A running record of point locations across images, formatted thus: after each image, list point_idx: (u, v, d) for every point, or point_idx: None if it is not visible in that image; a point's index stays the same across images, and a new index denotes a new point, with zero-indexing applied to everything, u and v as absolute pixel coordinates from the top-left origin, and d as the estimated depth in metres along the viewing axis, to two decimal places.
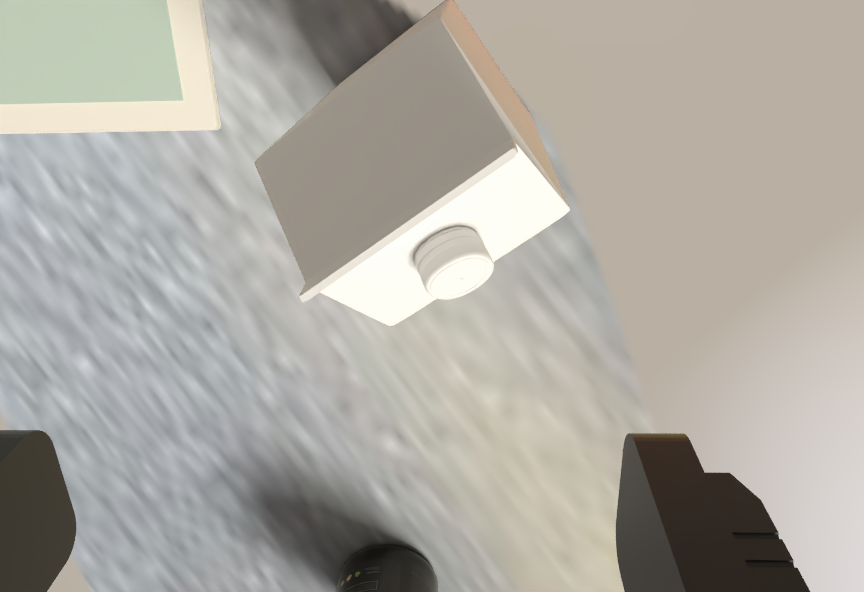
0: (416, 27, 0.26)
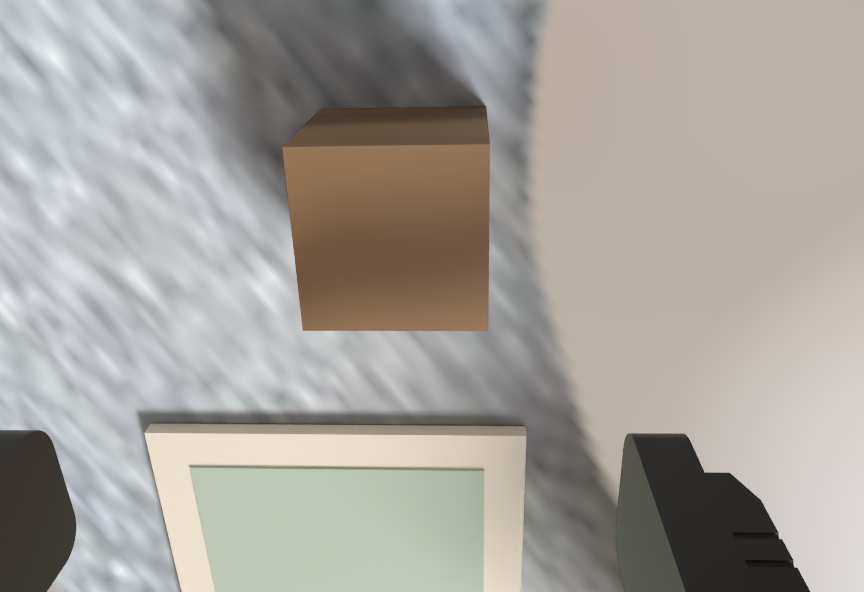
0: None
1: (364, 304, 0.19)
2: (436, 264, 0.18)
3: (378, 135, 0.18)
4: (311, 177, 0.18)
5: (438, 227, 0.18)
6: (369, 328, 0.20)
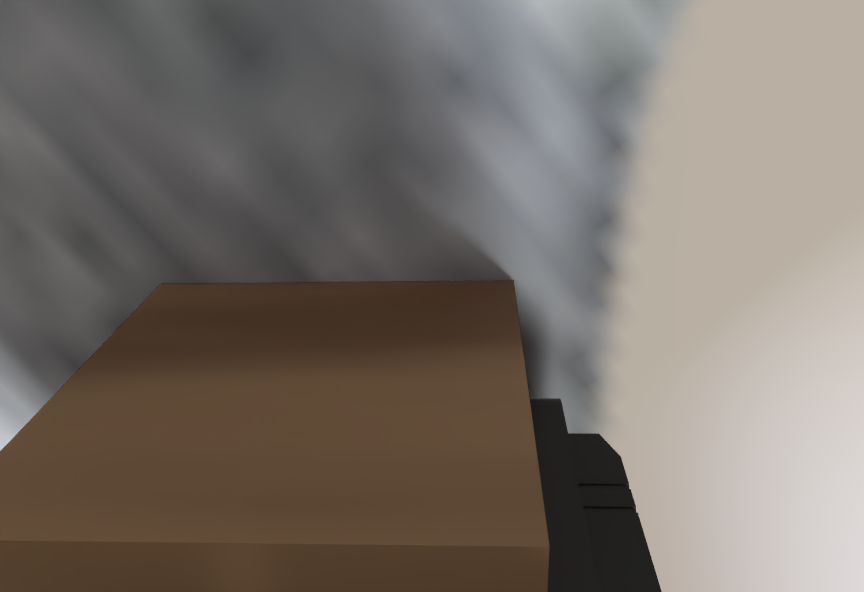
0: None
1: None
2: None
3: (231, 452, 0.07)
4: None
5: None
6: None
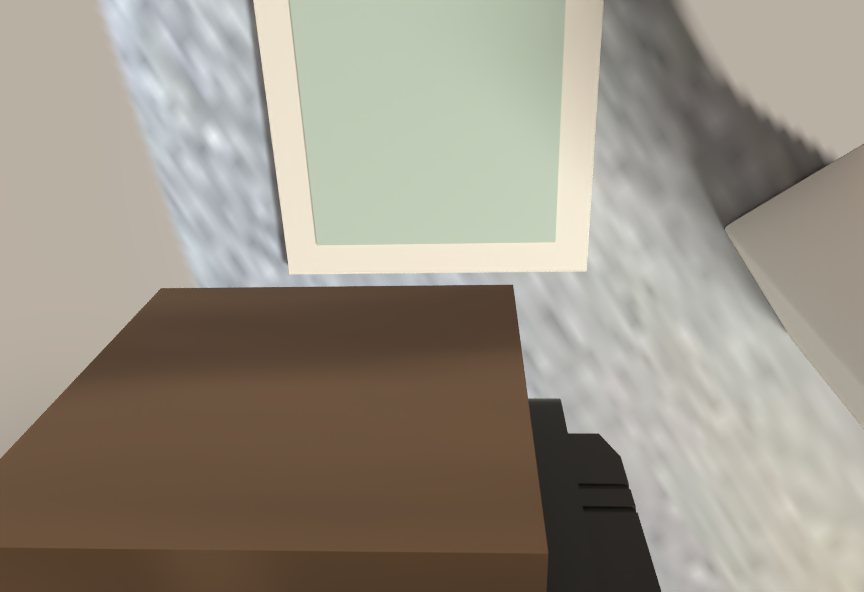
0: None
1: None
2: None
3: (231, 458, 0.07)
4: None
5: None
6: None
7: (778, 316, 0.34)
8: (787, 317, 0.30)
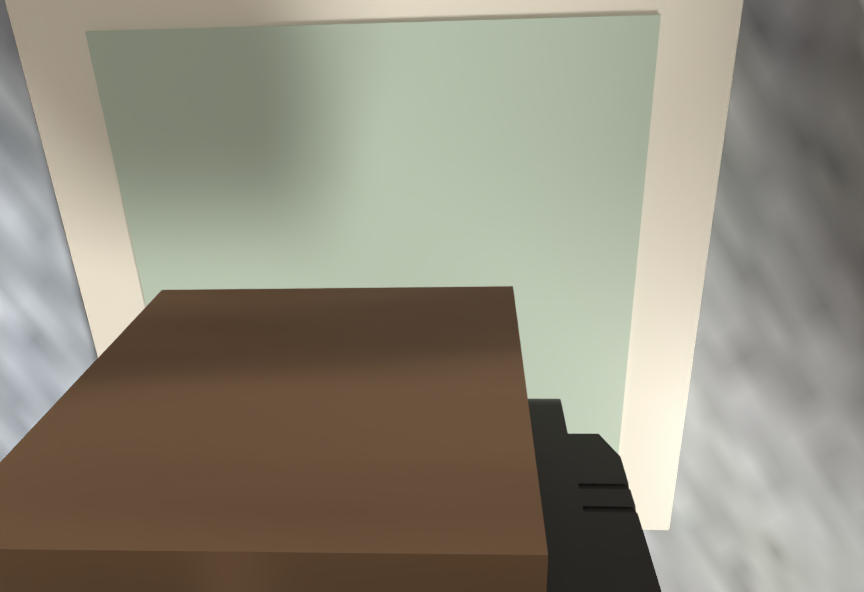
0: None
1: None
2: None
3: (232, 460, 0.07)
4: None
5: None
6: None
7: None
8: None
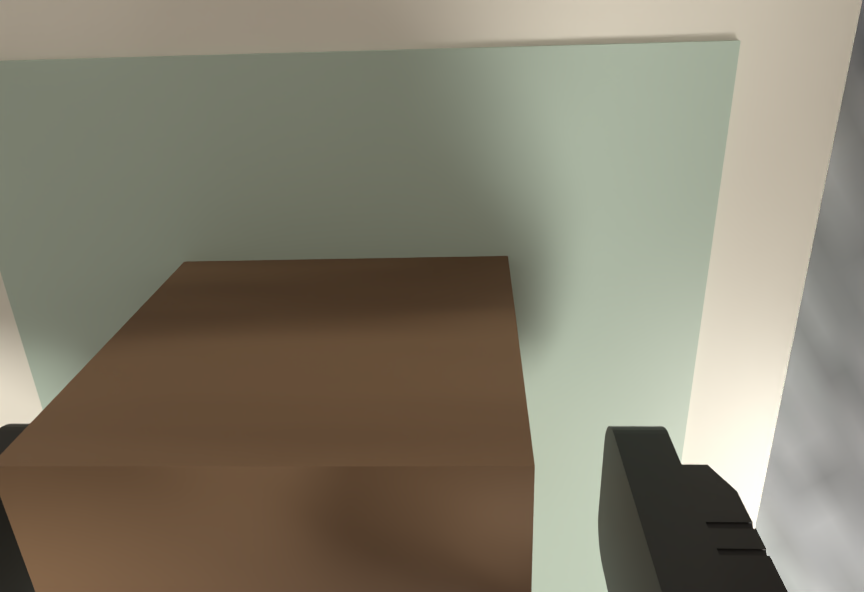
0: None
1: None
2: None
3: (257, 397, 0.08)
4: (77, 530, 0.07)
5: None
6: None
7: None
8: None
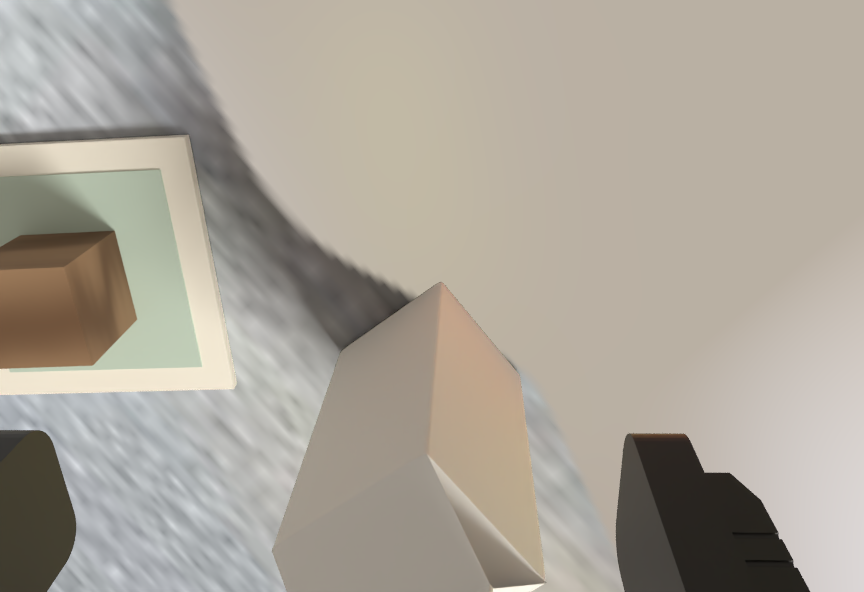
0: (409, 380, 0.30)
1: (21, 353, 0.34)
2: (54, 330, 0.33)
3: (18, 260, 0.33)
4: None
5: (49, 310, 0.33)
6: (28, 366, 0.34)
7: None
8: None
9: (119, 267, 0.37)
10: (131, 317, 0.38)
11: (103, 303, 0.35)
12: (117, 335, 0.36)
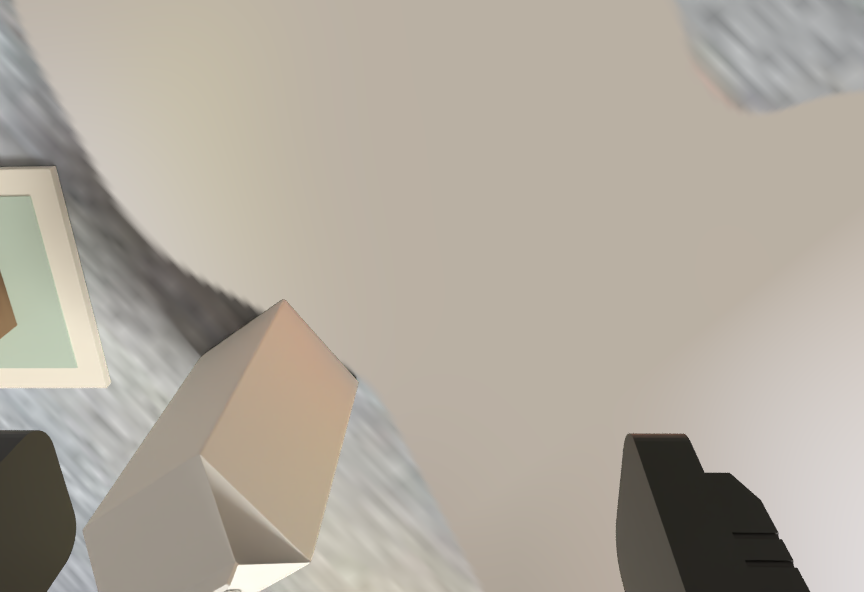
0: (221, 389, 0.35)
1: None
2: None
3: None
4: None
5: None
6: None
7: None
8: None
9: None
10: (10, 323, 0.43)
11: None
12: None
